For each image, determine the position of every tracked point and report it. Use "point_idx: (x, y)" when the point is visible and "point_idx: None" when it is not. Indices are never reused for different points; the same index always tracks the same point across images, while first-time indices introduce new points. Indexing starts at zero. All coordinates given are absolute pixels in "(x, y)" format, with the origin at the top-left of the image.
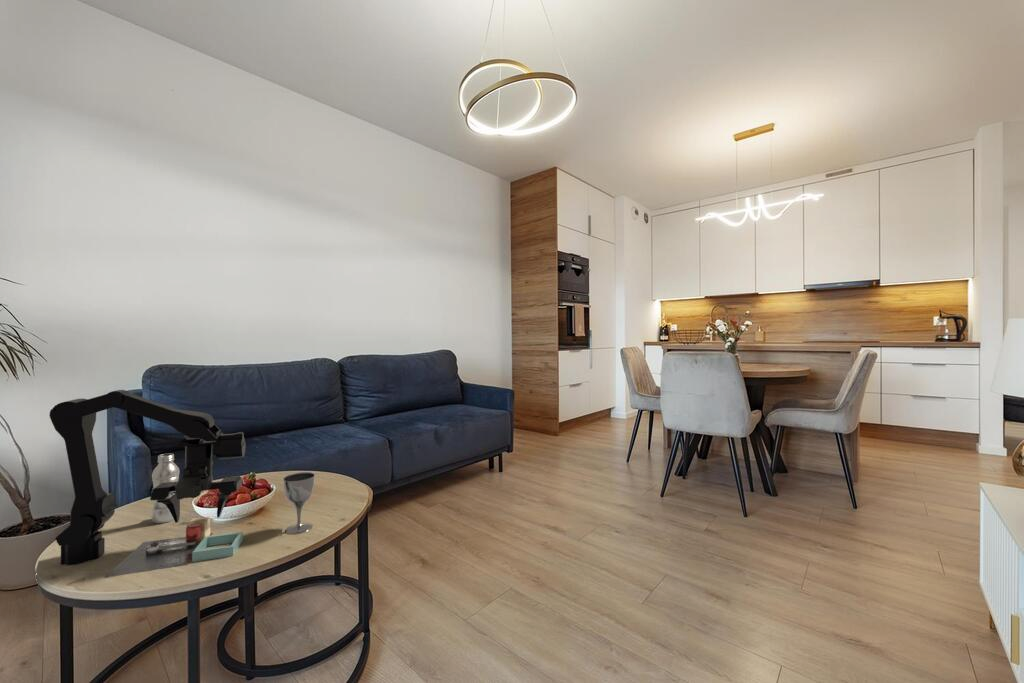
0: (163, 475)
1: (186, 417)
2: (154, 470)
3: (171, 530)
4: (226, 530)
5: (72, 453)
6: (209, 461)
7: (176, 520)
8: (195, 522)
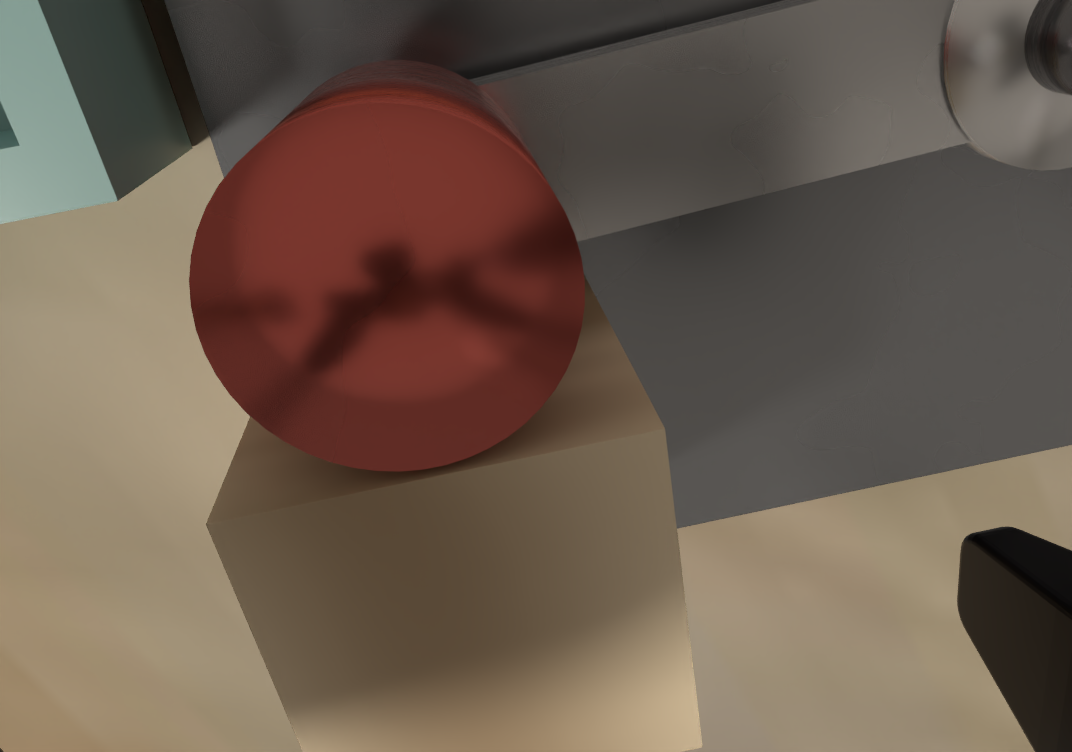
0: None
1: None
2: None
3: (1008, 729)
4: (276, 703)
5: None
6: None
7: (1021, 561)
8: (504, 558)
